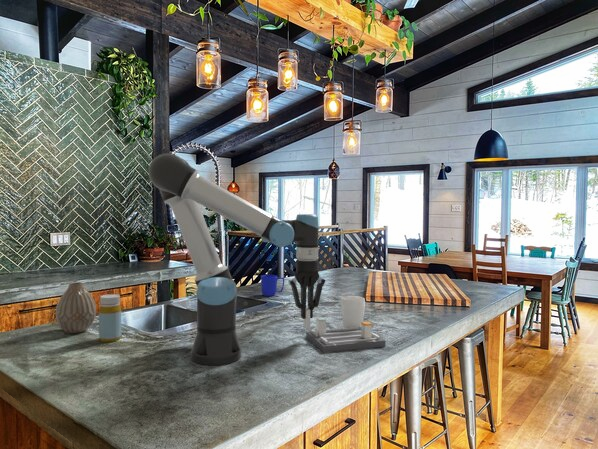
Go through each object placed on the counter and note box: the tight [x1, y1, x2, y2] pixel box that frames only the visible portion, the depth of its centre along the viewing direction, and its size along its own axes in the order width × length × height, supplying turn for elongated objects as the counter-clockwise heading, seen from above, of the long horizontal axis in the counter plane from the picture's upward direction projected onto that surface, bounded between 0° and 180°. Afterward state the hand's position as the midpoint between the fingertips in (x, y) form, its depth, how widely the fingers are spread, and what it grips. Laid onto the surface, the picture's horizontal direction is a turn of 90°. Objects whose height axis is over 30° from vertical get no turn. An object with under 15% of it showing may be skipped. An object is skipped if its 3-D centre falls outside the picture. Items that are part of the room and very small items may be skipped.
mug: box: [260, 274, 285, 297], centre depth 227 cm, size 8×12×10 cm
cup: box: [340, 295, 366, 328], centre depth 166 cm, size 9×9×12 cm
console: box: [305, 326, 386, 353], centre depth 152 cm, size 22×18×3 cm
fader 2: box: [361, 320, 373, 339], centre depth 150 cm, size 2×3×5 cm
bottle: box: [98, 293, 123, 343], centre depth 151 cm, size 7×7×15 cm
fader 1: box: [315, 317, 327, 334], centre depth 154 cm, size 2×3×5 cm
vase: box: [55, 281, 97, 334], centre depth 161 cm, size 13×13×18 cm
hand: (306, 327), depth 153 cm, fingers closed
